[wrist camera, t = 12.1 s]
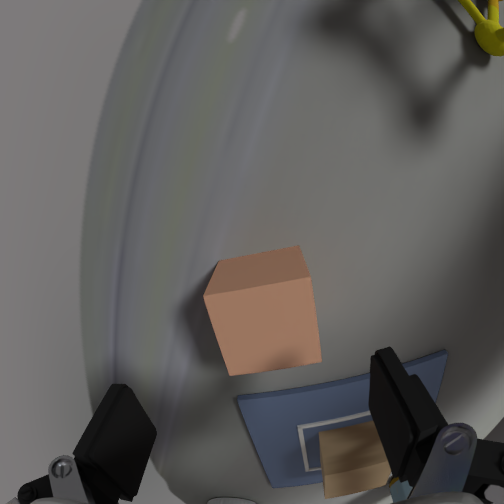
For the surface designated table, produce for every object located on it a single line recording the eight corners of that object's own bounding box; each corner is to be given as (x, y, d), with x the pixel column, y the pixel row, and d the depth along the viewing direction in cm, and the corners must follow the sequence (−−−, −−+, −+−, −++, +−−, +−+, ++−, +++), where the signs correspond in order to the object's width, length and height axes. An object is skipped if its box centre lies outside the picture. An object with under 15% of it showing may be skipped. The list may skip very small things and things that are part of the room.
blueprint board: (445, 349, 19) (449, 354, 19) (413, 454, 25) (415, 458, 24) (237, 395, 21) (236, 402, 21) (272, 484, 27) (272, 489, 26)
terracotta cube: (298, 245, 18) (310, 276, 13) (310, 315, 19) (322, 361, 14) (218, 260, 18) (203, 296, 13) (237, 327, 19) (229, 375, 15)
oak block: (381, 418, 21) (395, 458, 16) (375, 449, 23) (385, 485, 18) (318, 431, 22) (324, 475, 17) (320, 461, 24) (324, 498, 19)
